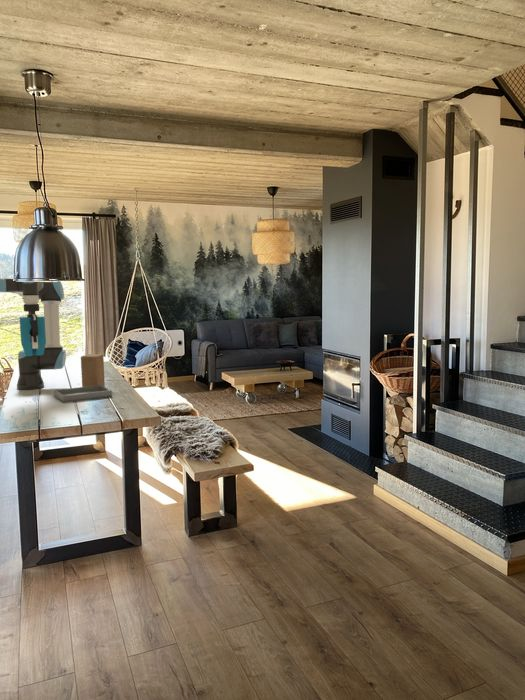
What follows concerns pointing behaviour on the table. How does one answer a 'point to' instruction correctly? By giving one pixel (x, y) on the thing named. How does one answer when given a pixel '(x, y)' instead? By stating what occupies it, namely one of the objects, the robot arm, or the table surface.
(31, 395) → the table surface
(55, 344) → the robot arm
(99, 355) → the wooden block
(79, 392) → the tray
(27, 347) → the block
